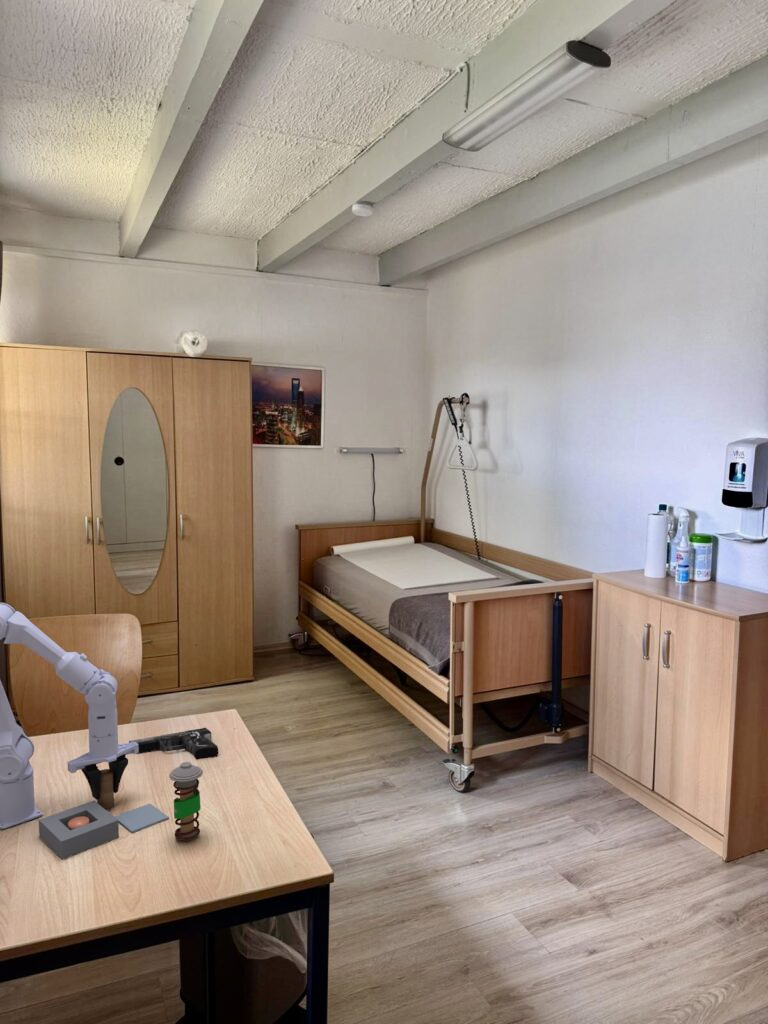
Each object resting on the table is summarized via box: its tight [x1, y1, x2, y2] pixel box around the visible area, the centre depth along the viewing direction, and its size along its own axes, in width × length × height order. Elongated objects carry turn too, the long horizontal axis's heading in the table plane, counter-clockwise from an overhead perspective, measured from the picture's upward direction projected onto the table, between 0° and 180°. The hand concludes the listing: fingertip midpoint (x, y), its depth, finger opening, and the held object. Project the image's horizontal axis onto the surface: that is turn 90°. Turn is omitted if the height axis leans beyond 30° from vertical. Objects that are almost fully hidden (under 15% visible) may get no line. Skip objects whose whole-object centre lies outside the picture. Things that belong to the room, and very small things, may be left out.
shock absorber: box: [168, 761, 204, 842], centre depth 143 cm, size 6×6×15 cm
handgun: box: [128, 727, 219, 760], centre depth 183 cm, size 20×3×14 cm
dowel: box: [96, 768, 115, 811], centre depth 156 cm, size 3×3×8 cm
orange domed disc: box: [68, 816, 89, 830], centre depth 144 cm, size 4×4×1 cm
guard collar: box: [38, 800, 120, 860], centre depth 144 cm, size 11×11×4 cm
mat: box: [113, 803, 170, 834], centre depth 151 cm, size 8×8×1 cm
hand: (105, 794), depth 156 cm, fingers closed on dowel, 3 cm apart
